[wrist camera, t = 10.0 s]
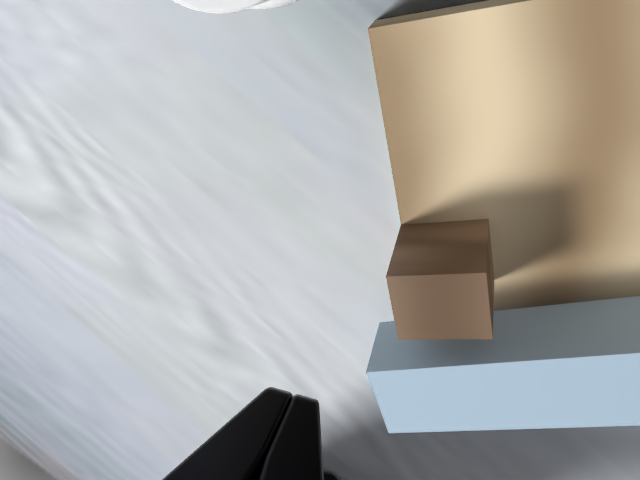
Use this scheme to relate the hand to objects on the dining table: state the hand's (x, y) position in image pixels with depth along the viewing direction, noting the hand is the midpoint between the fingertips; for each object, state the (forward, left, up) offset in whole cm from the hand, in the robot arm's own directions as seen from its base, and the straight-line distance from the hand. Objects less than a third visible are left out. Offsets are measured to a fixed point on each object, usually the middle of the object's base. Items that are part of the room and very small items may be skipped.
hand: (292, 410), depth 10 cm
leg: (+4, -8, -12) cm, 15 cm away
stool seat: (+5, -2, -13) cm, 14 cm away
